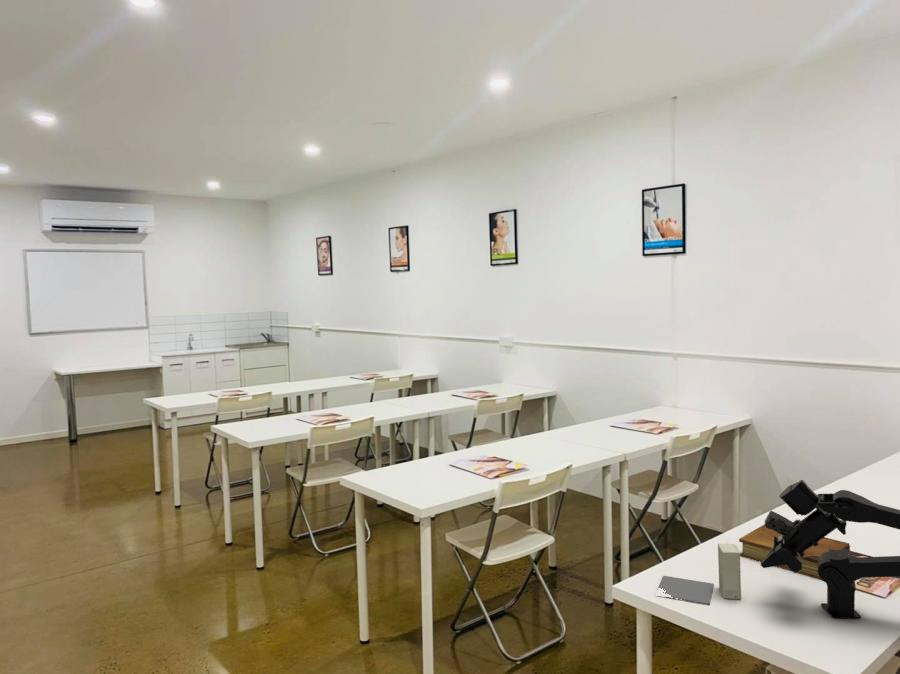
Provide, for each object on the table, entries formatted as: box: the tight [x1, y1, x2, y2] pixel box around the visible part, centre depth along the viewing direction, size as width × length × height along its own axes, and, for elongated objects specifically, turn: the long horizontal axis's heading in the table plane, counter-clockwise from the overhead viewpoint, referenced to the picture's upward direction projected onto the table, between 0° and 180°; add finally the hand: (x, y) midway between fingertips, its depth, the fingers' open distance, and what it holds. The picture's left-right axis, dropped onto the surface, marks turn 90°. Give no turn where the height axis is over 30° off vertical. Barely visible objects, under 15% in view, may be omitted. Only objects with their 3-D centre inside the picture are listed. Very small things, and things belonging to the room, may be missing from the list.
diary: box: [738, 524, 851, 581], centre depth 189 cm, size 23×19×6 cm
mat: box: [657, 575, 715, 606], centre depth 172 cm, size 13×12×1 cm
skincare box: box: [717, 543, 742, 600], centre depth 169 cm, size 6×4×12 cm
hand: (761, 566), depth 165 cm, fingers closed
